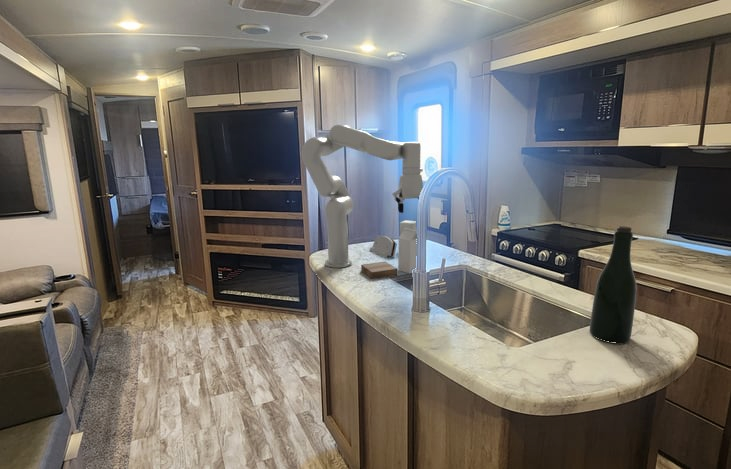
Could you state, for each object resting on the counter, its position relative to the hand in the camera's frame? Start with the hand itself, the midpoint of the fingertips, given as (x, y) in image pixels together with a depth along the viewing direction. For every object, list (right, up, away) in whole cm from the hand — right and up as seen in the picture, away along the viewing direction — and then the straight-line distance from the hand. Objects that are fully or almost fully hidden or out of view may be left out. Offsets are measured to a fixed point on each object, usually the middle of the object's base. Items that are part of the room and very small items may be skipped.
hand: (410, 211), depth 175 cm
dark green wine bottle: (+52, -40, -56) cm, 87 cm away
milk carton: (0, -26, +6) cm, 27 cm away
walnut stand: (-14, -27, +3) cm, 30 cm away
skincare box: (+4, -19, +40) cm, 45 cm away
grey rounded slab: (-10, -20, +35) cm, 42 cm away
